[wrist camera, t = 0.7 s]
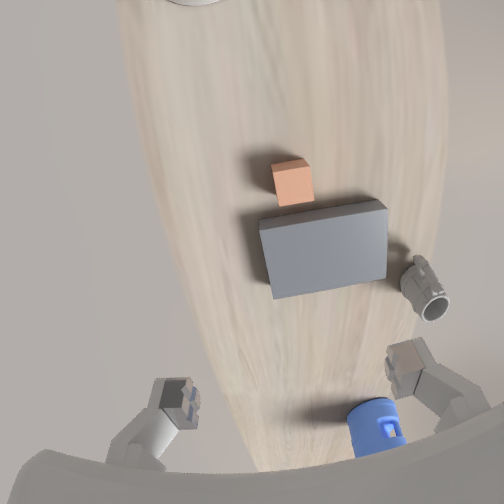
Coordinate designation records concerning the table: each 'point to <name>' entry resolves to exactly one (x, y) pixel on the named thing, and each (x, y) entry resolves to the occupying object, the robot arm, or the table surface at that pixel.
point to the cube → (292, 182)
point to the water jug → (374, 427)
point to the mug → (424, 290)
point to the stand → (325, 248)
